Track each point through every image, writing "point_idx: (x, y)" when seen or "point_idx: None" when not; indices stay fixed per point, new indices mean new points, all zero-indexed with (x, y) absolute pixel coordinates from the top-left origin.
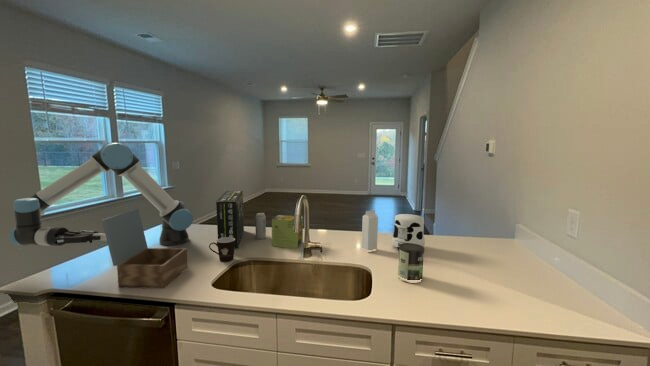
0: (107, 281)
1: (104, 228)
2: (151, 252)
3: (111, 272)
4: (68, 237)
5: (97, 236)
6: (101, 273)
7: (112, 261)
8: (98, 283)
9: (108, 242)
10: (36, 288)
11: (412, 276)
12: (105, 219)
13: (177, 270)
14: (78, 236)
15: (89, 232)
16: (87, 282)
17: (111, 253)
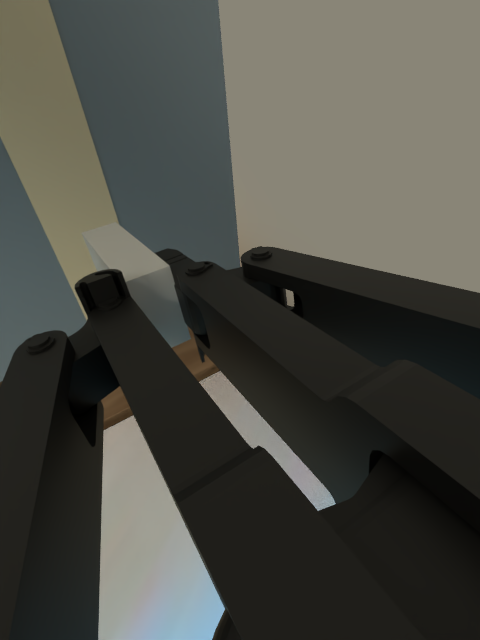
0: (246, 434)
1: (220, 59)
2: None
3: (164, 555)
4: (476, 293)
5: (169, 253)
6: (207, 600)
7: (239, 261)
8: (283, 441)
9: (228, 162)
10: None
11: None
12: None
13: None
14: (325, 274)
15: (56, 445)
16: (321, 499)
17: (233, 222)
